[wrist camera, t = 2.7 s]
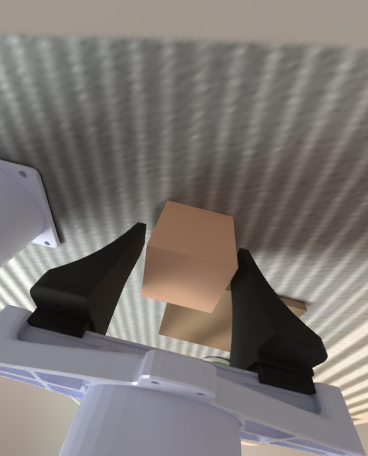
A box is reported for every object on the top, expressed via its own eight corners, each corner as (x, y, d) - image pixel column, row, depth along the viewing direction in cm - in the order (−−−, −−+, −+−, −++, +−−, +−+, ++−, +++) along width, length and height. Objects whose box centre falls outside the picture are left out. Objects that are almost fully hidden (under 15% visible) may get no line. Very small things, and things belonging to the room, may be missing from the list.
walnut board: (160, 328, 27) (158, 334, 26) (176, 270, 19) (174, 277, 18) (249, 350, 27) (250, 357, 26) (304, 303, 19) (307, 310, 18)
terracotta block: (159, 246, 17) (141, 295, 13) (167, 199, 14) (146, 244, 10) (213, 260, 17) (211, 313, 13) (233, 216, 14) (238, 268, 10)
